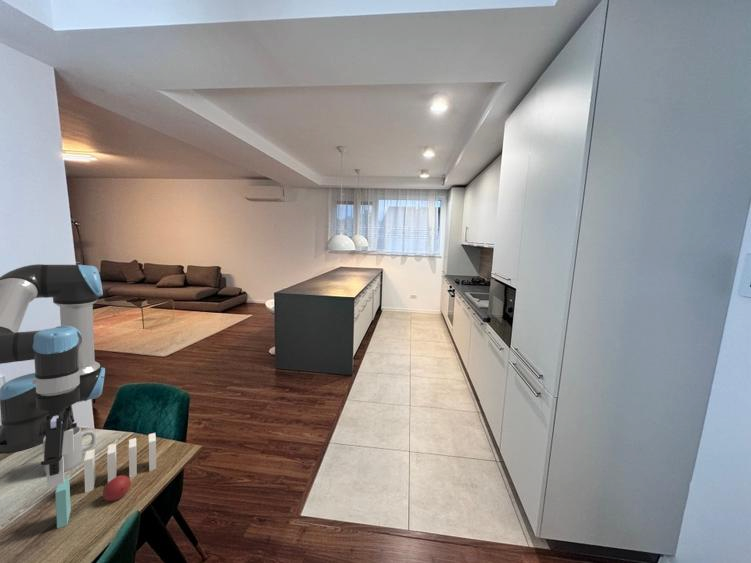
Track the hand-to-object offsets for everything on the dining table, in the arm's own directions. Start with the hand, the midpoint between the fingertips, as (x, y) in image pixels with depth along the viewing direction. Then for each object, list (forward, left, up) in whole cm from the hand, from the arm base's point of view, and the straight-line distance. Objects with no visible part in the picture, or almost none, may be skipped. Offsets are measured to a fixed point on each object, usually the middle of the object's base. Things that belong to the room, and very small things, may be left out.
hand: (61, 467), depth 76 cm
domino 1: (0, 0, -15) cm, 15 cm away
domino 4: (-11, +14, -15) cm, 23 cm away
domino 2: (-11, +4, -15) cm, 19 cm away
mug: (-27, -2, -15) cm, 31 cm away
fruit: (-1, +11, -15) cm, 19 cm away
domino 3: (-11, +9, -15) cm, 21 cm away
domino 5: (-11, +19, -15) cm, 27 cm away
